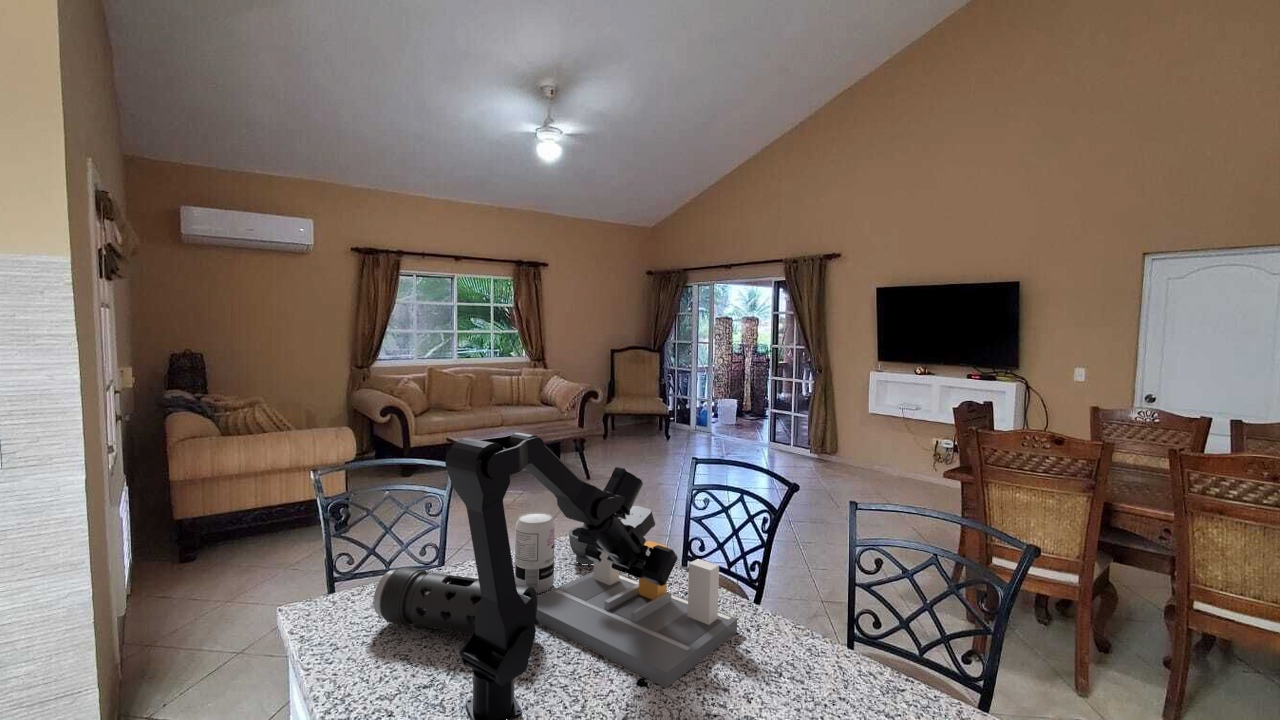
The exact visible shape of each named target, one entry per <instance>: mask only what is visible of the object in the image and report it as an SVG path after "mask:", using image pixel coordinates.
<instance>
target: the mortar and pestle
mask: <svg viewBox="0 0 1280 720" xmlns="http://www.w3.org/2000/svg"><path fill="white" fill-rule="evenodd" d="M582 527H583V525H580V526H575V527H574V528H572V529H570V530H568V540H569V546H570V549H571V551H572V553H573V554H575V562H578V563H580V564H588V565H591V564H594V561H592V560H590V559H589V558H588V557H587V556H586V555H585V547H586V545H587V544H584V543H581V542H578V535H579V533H580V528H582ZM578 563H577V564H578ZM580 564H579V565H580ZM591 566H592V565H591Z"/></svg>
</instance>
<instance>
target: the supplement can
mask: <svg viewBox="0 0 1280 720" xmlns="http://www.w3.org/2000/svg"><path fill="white" fill-rule="evenodd" d="M555 525H556V524H555V521H554V520H553V517H552V515H551V514H549V513H546V512H527V513H524V514H522V515H520V516H519V517H518V519H517V522H516V523H515V534H514V536H515V538H514V539H515V540H514V542H515V543H514V553H515V554H514V576H515V582H516V585H523V586H530V587H533V588H534V589H535V591H536V594H537V595H538V594H543V593H546V592H548V591H550V590H551V587H553V585H554V580H555V529H556V528H555ZM542 592H543V593H542Z"/></svg>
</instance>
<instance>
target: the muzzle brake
mask: <svg viewBox="0 0 1280 720" xmlns="http://www.w3.org/2000/svg"><path fill="white" fill-rule="evenodd" d="M516 589H517V592H518V593H520V594H522V595H525V596H527V597H530V598H532V599H533V601H534V604H535V617H536V613H537V596H538V594H536V591H535V589H534V588H533V587H530V586H523V585H516ZM480 601H481V590H480V584H479V578H472V577H466V576H459V575H454V574H453V575H451V574H443V573H439V572H438V573H437V572H430V573H429V572H428V571H427V570H425V569H421V568H415V567H409V566H405V567H401V568H398V569H390V570H388V571H386V572H385V573H384V574H383V576H382V577H381V579H379V582H378V584H377V586H376V588H375V591H374V595H373V603H372V604H373V610H374V612H375V614H376V615H378V616H379V617H381V618H383V619H384V621H386V622H387V623H390V624H395V625H396V624H397V625H403V626H410V625H414V628H415V629H417V630H424V631H427V632H432V631H433V630H434V629H435V630H443V631H448V632H454V633H459V634H460V636H465V635H468V636H470V634H471V633H472V631H473V630H474V628H475V612H476V610H477V608H478V606H479V603H480Z"/></svg>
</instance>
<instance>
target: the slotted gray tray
mask: <svg viewBox="0 0 1280 720" xmlns="http://www.w3.org/2000/svg"><path fill="white" fill-rule="evenodd" d="M600 558H601V559H602V560H601V561H600V563H598V562H595V561H594V565H593V571H592V572H590V573H587V574H585V575H582V576H581V577H580V576H579V577H578V578H576V579H574V580H571V581H569V582H567V583H565V584H563V585H560V586H558V587H556V588H553V589H550V590H548V591H545V592H543V593H541V594H540V595H537V613H536V620H537V621H538V625H541V626H543V627H545V628H547V629H549V630H551V631H553V632H555V633H557V634H559V635H561V636H562V637H564V638H567V639H568V640H570V641H573V642H574V643H577V644H579V645H581V646H582V647H584V648H586V649H588V650H591V651H592V652H594V653H596V654H598V655H599V656H602V657H604V658H607V660H609V661H612V662H614V663H616V664H618V665H619V666H621V667H624V669H627V670H629V671H631V672H633V673H636V674H637V675H639V676H642V677H643V678H645V679H646V680H649V681H651V682H653V683H655V684H657V685H659V686H660V687H663V688H665V689H668V688H669V687H670V686H672V685H673V684H674V683H675V682H677V680H678V679H680V678H681V677H683V675H684V674H686V673H687V672H688V671H690V670H691V669H692V668H693V667H695V666H696V665H698V664H699V663H701V661H703V660H704V659H705V658H706V657H708V656H709V655H710V654H711V653H713V652H714V651H716V649H718V648H719V647H720V646H721V645H723V644H724V643H726V642H727V641H728V640H729V639H730V638H731V637H733V636H734V635H735V634H737V632H738V618H736V617H734V616H731V615H728V614H726V613H723V612H720V611H719V585H720V583H719V582H720V581H719V580H720V565H718V564H717V563H713V562H710V561H706V560H703V559H701V558H700V559H699V558H697V559H695V560H692V561H691V562H689V563H688V584H687V585H688V590H687V599H686V598H683V597H681V596H677V595H676V594H672V593H671V592H669V591H667V592H666V593H665V594H663V595H661V596H659V597H658V598H656V599H654V600H652V599H649V598H647V597H644V596H642V595H639V581H638V580H636V579H633V578H630V577H627V576H624V575H622V574H620V571H618V570H615V569H613V568H612V567H611V566H612V563H611V562H609V561H608V560H607V558H608V555H607V554H606V553H604V552H602V553H601V555H600Z"/></svg>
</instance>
